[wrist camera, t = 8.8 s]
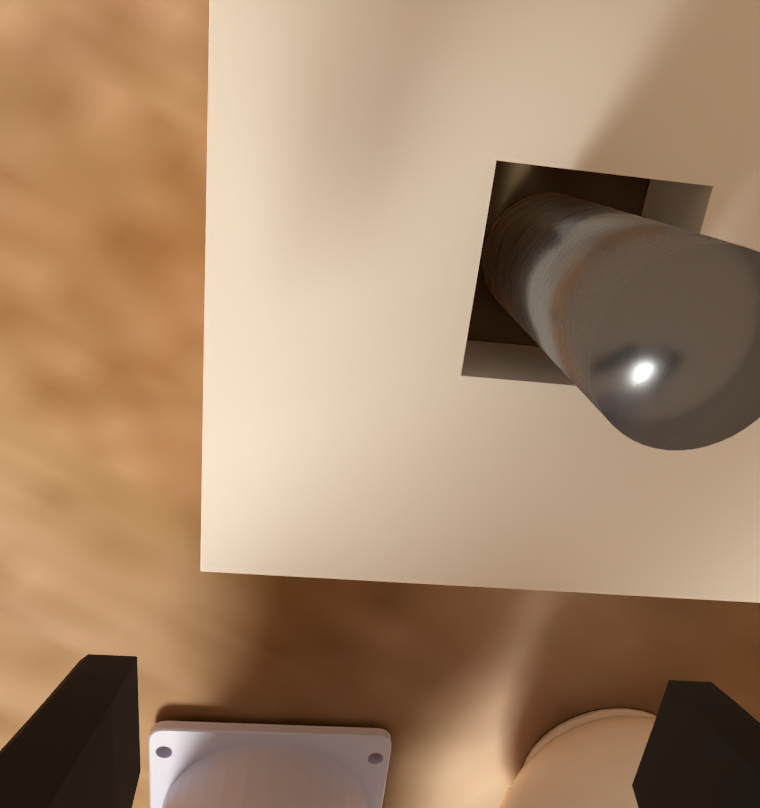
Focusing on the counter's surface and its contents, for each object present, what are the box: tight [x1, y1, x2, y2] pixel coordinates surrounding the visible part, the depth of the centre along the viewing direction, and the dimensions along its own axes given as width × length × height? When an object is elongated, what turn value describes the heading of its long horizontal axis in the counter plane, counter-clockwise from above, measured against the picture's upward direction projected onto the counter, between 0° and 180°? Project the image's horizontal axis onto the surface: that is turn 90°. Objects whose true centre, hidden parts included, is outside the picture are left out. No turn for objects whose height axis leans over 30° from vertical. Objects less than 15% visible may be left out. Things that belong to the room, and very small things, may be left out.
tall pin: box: [482, 192, 760, 450], centre depth 14 cm, size 3×3×8 cm
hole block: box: [200, 0, 760, 603], centre depth 16 cm, size 16×16×3 cm
